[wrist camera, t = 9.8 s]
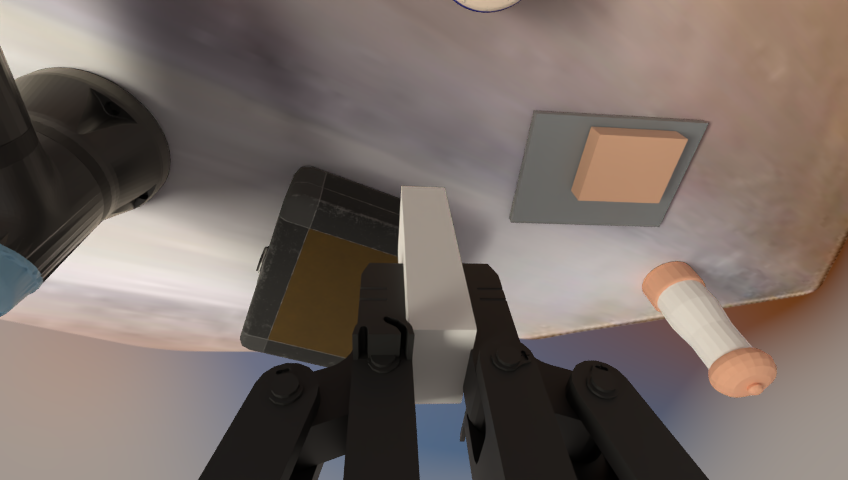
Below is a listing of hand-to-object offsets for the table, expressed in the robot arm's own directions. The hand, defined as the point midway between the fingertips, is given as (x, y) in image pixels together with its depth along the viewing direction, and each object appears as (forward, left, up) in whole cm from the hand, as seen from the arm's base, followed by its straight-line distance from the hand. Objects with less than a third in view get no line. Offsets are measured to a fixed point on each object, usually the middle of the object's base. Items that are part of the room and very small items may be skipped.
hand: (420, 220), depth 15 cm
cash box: (-6, -28, -33) cm, 44 cm away
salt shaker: (+41, -30, -33) cm, 60 cm away
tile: (+21, -11, -30) cm, 38 cm away
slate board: (+25, -13, -32) cm, 43 cm away
